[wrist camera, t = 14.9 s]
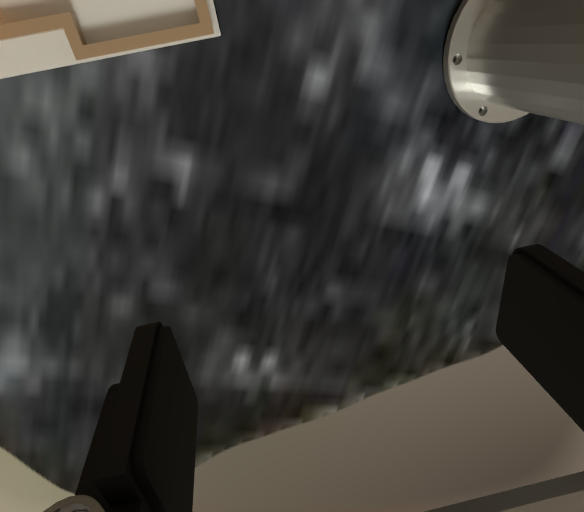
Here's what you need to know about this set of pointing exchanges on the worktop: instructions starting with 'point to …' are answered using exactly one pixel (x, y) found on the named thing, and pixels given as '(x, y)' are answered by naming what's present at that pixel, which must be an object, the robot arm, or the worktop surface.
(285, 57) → the worktop surface
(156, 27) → the shallow rimmed tray
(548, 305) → the robot arm
